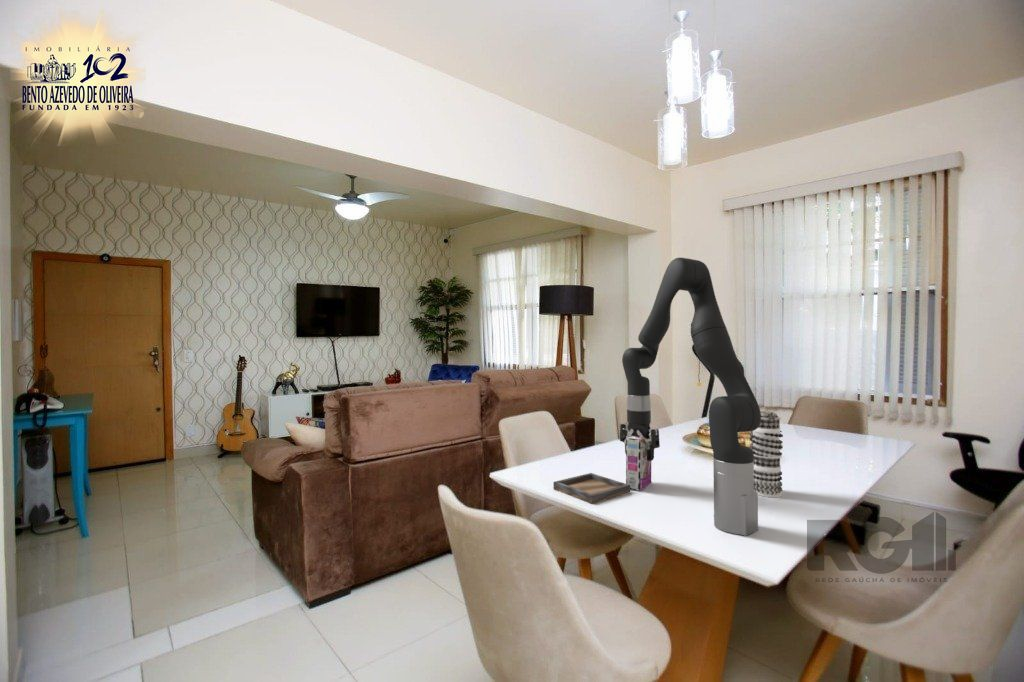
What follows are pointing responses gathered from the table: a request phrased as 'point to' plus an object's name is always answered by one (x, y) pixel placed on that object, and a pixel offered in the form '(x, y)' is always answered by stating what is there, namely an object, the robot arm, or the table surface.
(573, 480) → the wooden tray
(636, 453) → the candy bar box
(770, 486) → the decorative candle
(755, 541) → the table surface
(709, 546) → the table surface
